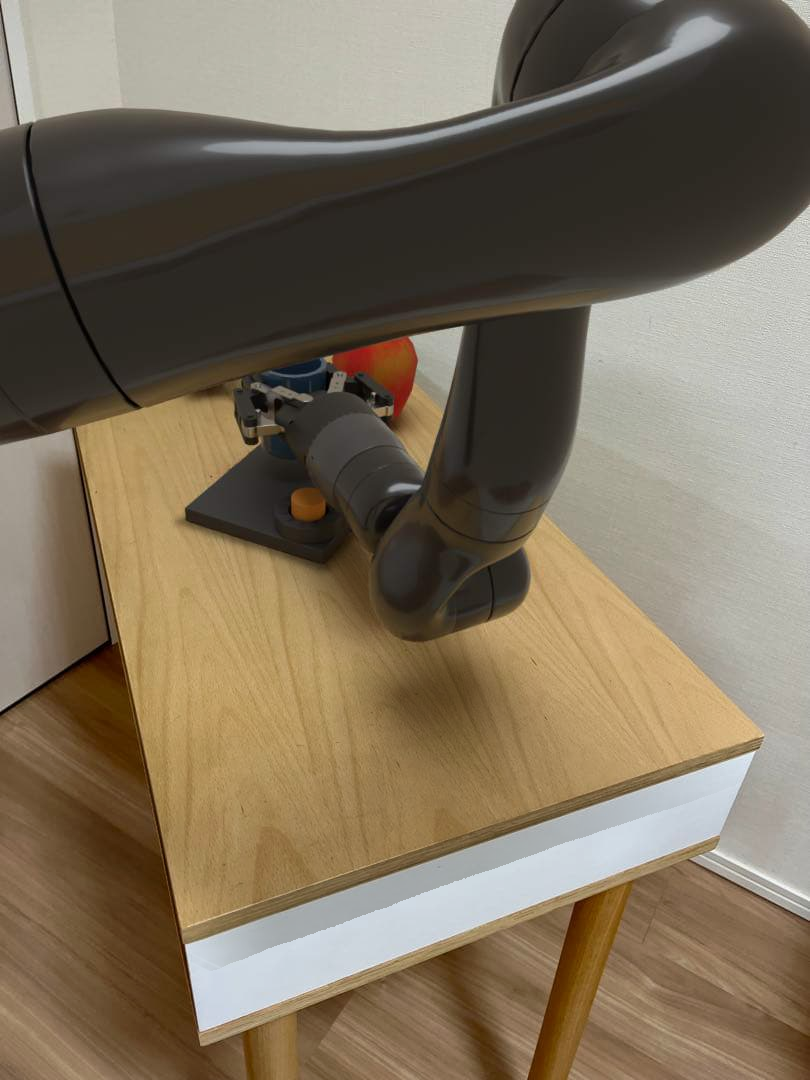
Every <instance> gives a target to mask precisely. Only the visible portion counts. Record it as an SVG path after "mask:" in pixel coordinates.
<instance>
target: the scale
mask: <svg viewBox="0 0 810 1080" xmlns="http://www.w3.org/2000/svg"><path fill="white" fill-rule="evenodd" d="M259 443H260V444H259ZM259 443H258V444H257V446H256V447H255V448H253V449H252V450H251V451H250V452H248V453H247V455H245V456H244V457H243V458H242V459H240V460H239V461H238V462H237V463H236V464H234V465H233V466H232V467H231V468H230V469H229V470H227V471H226V472H225V473H224V474H223V475H222V476H220V477H219V478H218V479H217V480H216V481H215V482H213V483H212V484H211V485H210V486H209V487H208V488H206V489H205V490H204V491H203V492H202V493H201V494H199V495H198V496H197V497H196V498H195V499H194V500H192V501H191V502H190V503H189V504H188V505H187V506H185V508H184V513H185V520H186V521H187V522H191V523H193V524H197V525H199V526H203V527H206V528H209V529H213V530H215V531H218V532H221V533H225V534H228V535H231V536H233V537H237V538H240V539H243V540H245V541H250V542H252V543H256V544H259V545H262V546H264V547H268V548H271V549H275V550H278V551H280V552H284V553H287V554H290V555H293V556H296V557H299V558H302V559H306V560H309V561H312V562H314V563H317V564H321V565H323V564H325V562H326V561H327V560H328V559H329V558H330V556H331V555H332V554H333V553H334V552H335V550H336V549H337V548H338V546H339V545H340V544H341V543H342V541H344V539H345V538H346V537H347V536H348V534H349V533H350V532H351V530H350V529H349V528H348V526H347V525H346V523H345V522H344V521H343V519H342V518H341V516H340V515H339V513H338V512H337V511H336V510H335V509H334V508H333V507H332V506H331V505H330V504H329V503H328V502H327V501H326V509H325V516H324V517H323V518H322V519H320V520H317V521H301V520H297V519H295V518H294V517H293V516H292V513H291V496H292V494H293V492H295V491H296V490H298V489H301V488H315V489H317V488H316V487H315V486H314V485H313V484H312V482H311V480H310V478H309V476H308V475H307V473H306V472H305V471H304V469H303V468H302V466H301V465H300V463H299V462H298V461H297V460H286V459H280V458H277V457H274V456H271V455H269V454H268V453H266V452H265V451H264V450H263V448H262V446H261V442H259Z"/></svg>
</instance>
